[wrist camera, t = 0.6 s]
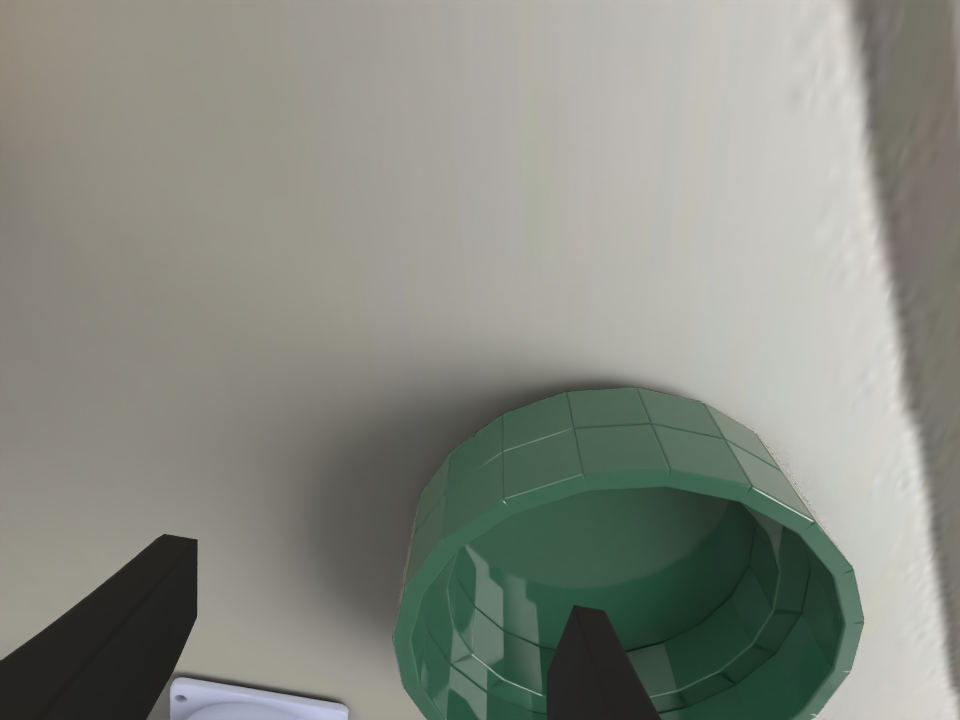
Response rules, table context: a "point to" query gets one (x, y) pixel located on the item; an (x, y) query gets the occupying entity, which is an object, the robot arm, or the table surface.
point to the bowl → (623, 564)
